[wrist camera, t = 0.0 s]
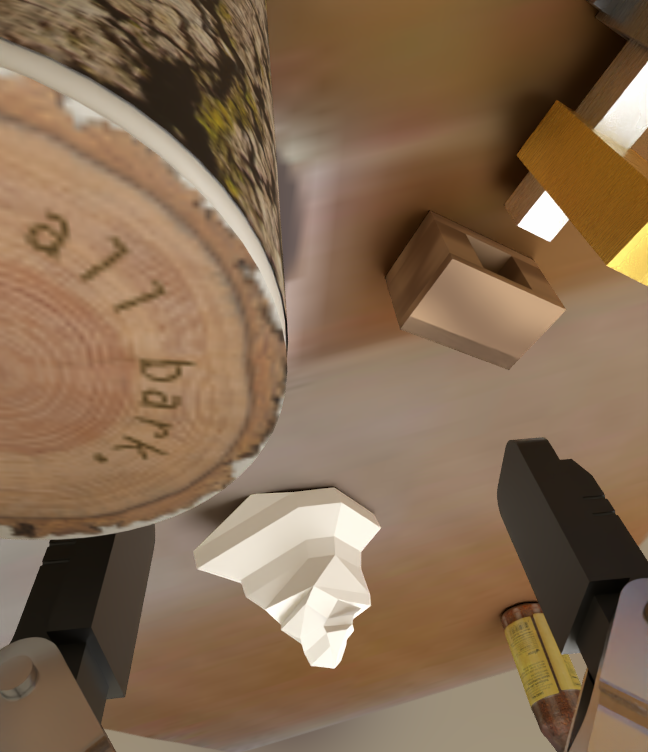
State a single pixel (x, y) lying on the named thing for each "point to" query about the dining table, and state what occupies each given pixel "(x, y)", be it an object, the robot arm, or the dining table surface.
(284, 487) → the dining table surface
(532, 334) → the socket block
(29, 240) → the paper tube
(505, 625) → the sauce bottle
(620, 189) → the slide bar
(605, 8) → the sleeve
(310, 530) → the soft serve ice cream
